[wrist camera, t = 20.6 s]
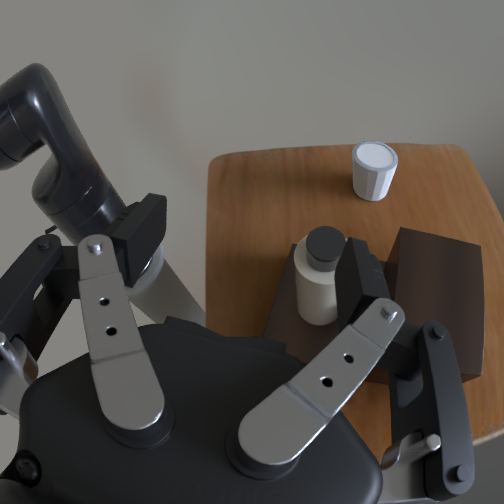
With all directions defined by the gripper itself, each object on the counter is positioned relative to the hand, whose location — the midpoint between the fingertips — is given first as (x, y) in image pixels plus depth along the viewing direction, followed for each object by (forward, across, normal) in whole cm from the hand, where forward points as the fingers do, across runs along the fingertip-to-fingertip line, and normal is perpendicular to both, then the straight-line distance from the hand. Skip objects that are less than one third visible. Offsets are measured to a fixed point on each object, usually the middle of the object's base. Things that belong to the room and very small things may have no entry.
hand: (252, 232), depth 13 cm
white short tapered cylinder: (+34, -16, +9) cm, 38 cm away
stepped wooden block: (+13, -15, +17) cm, 26 cm away
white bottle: (+13, -8, +16) cm, 22 cm away
